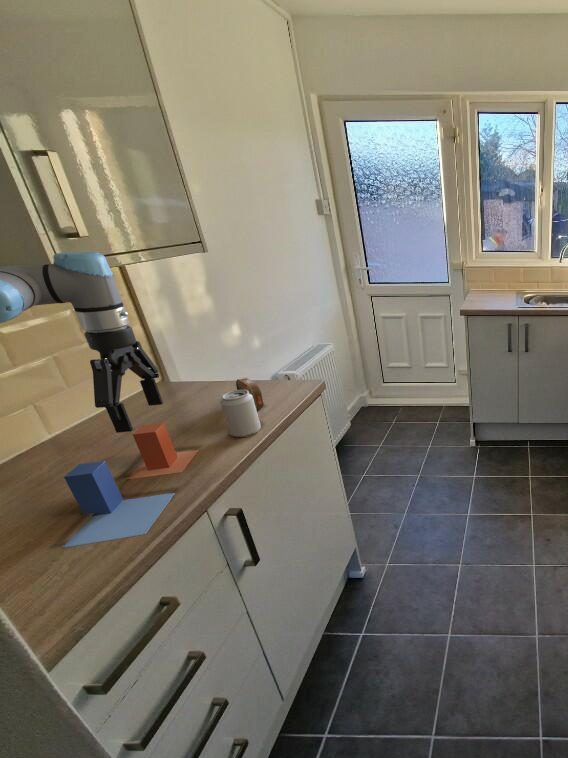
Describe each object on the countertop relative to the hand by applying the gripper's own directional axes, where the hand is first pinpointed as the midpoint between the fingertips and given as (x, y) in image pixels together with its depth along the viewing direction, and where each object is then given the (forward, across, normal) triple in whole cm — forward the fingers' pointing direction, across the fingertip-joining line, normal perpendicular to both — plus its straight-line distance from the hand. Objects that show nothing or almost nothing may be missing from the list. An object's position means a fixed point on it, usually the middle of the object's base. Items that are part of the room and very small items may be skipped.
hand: (141, 417), depth 96 cm
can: (+13, +13, -16) cm, 24 cm away
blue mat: (+14, -20, -2) cm, 24 cm away
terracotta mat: (+14, 0, 0) cm, 14 cm away
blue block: (+13, -15, +4) cm, 21 cm away
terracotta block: (+13, 0, -1) cm, 13 cm away
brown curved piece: (+13, +31, -12) cm, 36 cm away
